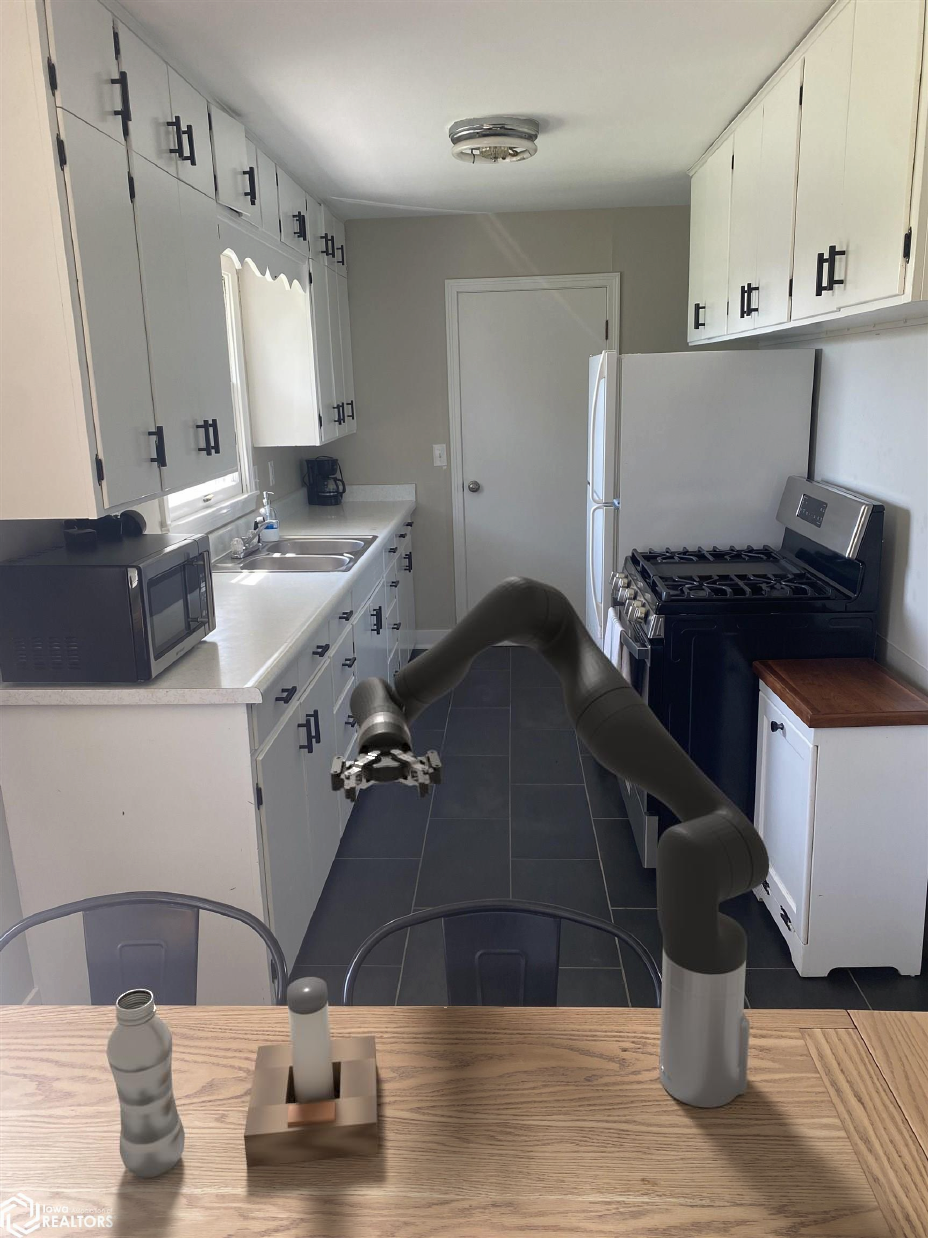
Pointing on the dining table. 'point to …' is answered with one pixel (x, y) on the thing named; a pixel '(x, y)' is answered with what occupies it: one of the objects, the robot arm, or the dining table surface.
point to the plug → (310, 1040)
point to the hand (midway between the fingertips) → (387, 793)
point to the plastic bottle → (144, 1086)
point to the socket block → (313, 1107)
